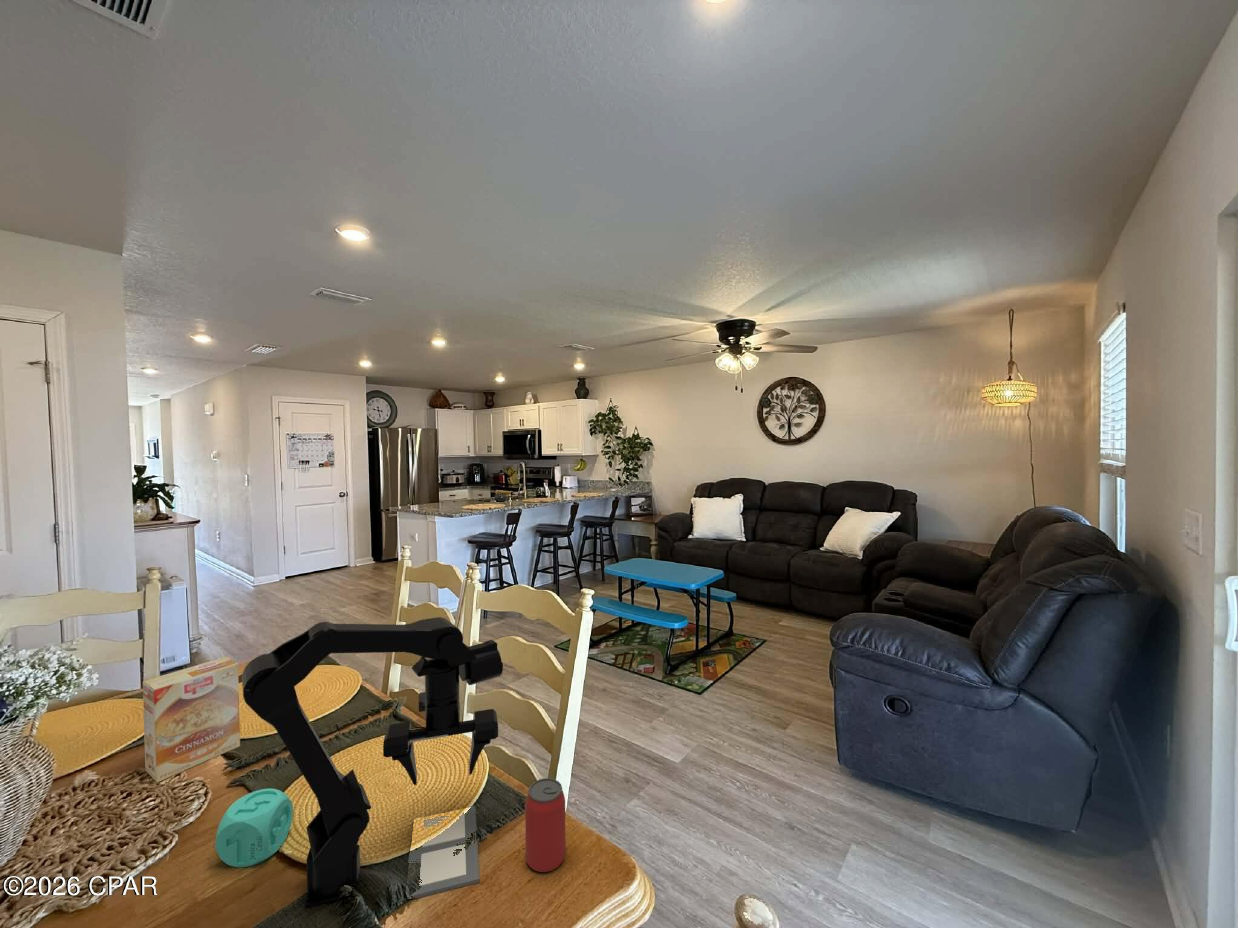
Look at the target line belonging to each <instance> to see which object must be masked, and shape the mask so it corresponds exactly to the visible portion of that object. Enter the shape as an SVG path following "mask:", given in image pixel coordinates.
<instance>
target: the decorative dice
mask: <svg viewBox="0 0 1238 928" xmlns="http://www.w3.org/2000/svg"><path fill="white" fill-rule="evenodd" d="M293 817H294V806H293V802H292V800H291V798H290V797H289V796H288V794H286V793H285V792H283V791H282V790H280V789H277V788H262V789H258V790H253V791H251V792H250V793H247V794H245V795H243V796H242V797H240V798H238V799H237V800H236V801H234V802H233V803H232V804H231V805H230V806H229V807H228V809H226V811H225V813H224V814H223V816H222V818H221V820H220V822H219V825H218V827H217V830H216V835H215V841H214V843H215V844H214V845H215V851H216V854H217V856H218V857H219V858H220V859H221V861H222V862H223V863H225V864H227V865H228V866H231V867H235V868H246V867H251V866H254V865H255V866H256V865H257V864H260V863H262V862H264V861H265V860H267V859H269V858H270V857H272V856H273V855H274V854H275V853H277V851H278V850H279V849H280V848H281V847H282V846H283V844H284V843H285V841H286V839H287V837H288V835H289V834H288V833H289V832H290V829H291V827H292V821H293ZM280 846H281V847H280Z"/></svg>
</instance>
